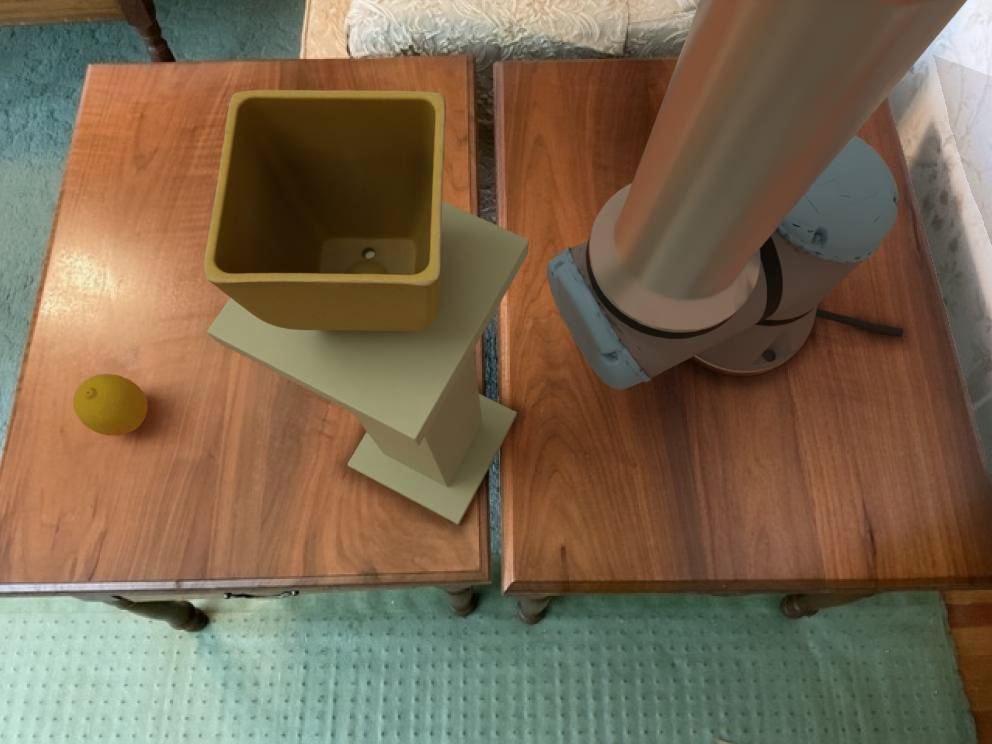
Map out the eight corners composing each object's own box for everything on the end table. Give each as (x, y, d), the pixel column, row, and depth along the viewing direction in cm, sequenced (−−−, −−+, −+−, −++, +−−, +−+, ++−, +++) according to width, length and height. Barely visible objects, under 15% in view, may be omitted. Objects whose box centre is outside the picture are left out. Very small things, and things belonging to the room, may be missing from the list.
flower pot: (459, 209, 37) (446, 87, 28) (455, 365, 34) (439, 282, 25) (293, 209, 37) (230, 87, 28) (275, 364, 34) (198, 281, 25)
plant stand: (517, 415, 68) (529, 239, 36) (458, 525, 65) (415, 440, 33) (411, 362, 70) (333, 150, 38) (348, 466, 67) (205, 331, 35)
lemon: (102, 446, 68) (51, 425, 60) (108, 391, 69) (60, 364, 62) (159, 442, 68) (116, 420, 60) (164, 388, 69) (122, 360, 62)
